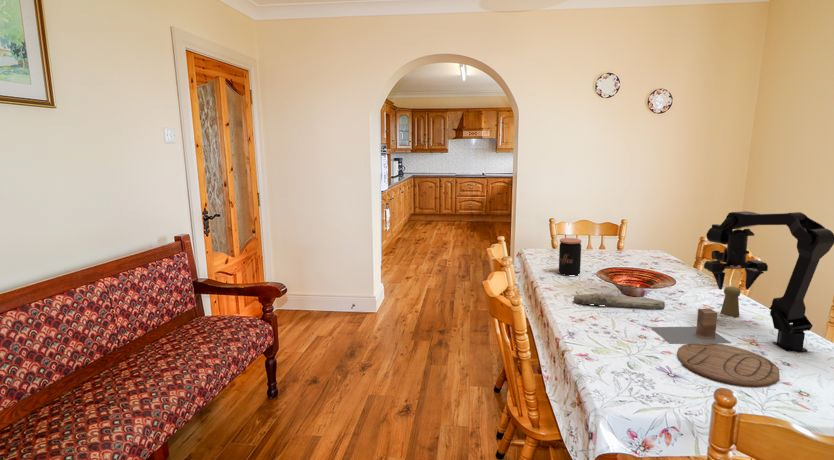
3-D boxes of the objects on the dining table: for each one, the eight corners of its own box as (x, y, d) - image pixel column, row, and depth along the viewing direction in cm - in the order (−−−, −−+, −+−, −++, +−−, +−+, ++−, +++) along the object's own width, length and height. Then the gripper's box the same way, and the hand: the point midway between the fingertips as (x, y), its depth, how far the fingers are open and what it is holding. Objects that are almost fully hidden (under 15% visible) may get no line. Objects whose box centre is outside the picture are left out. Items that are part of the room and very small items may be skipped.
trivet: (665, 367, 132) (665, 361, 132) (689, 341, 150) (690, 335, 149) (771, 398, 115) (772, 392, 114) (784, 364, 132) (785, 359, 132)
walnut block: (715, 338, 149) (717, 312, 148) (702, 338, 150) (705, 312, 148) (707, 333, 153) (710, 308, 152) (695, 333, 154) (698, 308, 152)
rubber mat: (731, 344, 146) (732, 343, 145) (669, 344, 146) (669, 343, 146) (706, 327, 159) (706, 326, 159) (649, 328, 160) (649, 327, 160)
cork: (742, 318, 167) (745, 290, 165) (724, 317, 168) (727, 289, 166) (734, 312, 173) (737, 285, 171) (717, 311, 174) (720, 284, 172)
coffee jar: (554, 272, 234) (555, 239, 231) (569, 270, 238) (570, 237, 235) (568, 277, 224) (570, 242, 221) (584, 274, 229) (586, 240, 225)
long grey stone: (667, 315, 175) (660, 308, 185) (669, 302, 175) (662, 296, 184) (574, 305, 184) (572, 298, 194) (575, 293, 184) (573, 287, 193)
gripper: (749, 242, 165) (745, 282, 167) (697, 243, 166) (694, 283, 168) (770, 248, 154) (766, 291, 156) (714, 249, 155) (711, 292, 157)
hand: (733, 289), depth 160 cm, fingers open, 9 cm apart
